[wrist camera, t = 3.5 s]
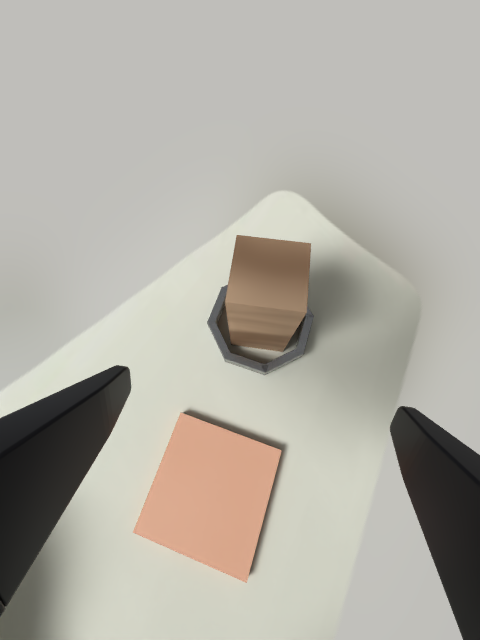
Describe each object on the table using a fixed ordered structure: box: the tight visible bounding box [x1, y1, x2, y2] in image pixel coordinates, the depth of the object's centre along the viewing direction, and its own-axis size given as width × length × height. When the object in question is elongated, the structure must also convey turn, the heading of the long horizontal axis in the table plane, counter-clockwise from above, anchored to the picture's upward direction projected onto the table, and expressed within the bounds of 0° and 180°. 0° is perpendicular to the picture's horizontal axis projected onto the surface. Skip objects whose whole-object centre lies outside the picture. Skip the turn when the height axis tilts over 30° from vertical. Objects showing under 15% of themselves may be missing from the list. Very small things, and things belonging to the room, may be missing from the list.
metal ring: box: [207, 285, 314, 375], centre depth 23 cm, size 8×8×1 cm
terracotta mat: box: [133, 413, 282, 583], centre depth 19 cm, size 8×8×1 cm
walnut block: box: [225, 235, 311, 352], centre depth 19 cm, size 4×4×9 cm
